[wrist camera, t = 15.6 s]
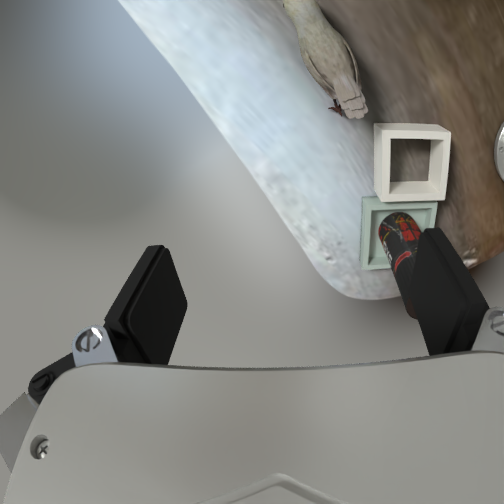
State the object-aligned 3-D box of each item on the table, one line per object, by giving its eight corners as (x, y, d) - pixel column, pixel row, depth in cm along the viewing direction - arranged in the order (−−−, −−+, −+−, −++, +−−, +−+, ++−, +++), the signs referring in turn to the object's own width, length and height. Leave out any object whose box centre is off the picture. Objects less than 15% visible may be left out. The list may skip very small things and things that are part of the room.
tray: (431, 194, 39) (437, 202, 37) (422, 255, 45) (426, 265, 43) (361, 196, 41) (365, 205, 39) (359, 260, 47) (362, 270, 45)
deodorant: (419, 237, 43) (456, 306, 31) (385, 252, 45) (411, 326, 33) (409, 205, 40) (450, 271, 28) (372, 222, 42) (400, 294, 30)
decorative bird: (310, -12, 26) (316, -28, 20) (367, 101, 34) (385, 111, 28) (269, 3, 28) (265, -9, 22) (329, 116, 36) (338, 129, 30)
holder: (437, 124, 34) (450, 132, 30) (433, 187, 39) (444, 200, 35) (373, 123, 35) (382, 130, 32) (374, 189, 40) (381, 202, 37)
